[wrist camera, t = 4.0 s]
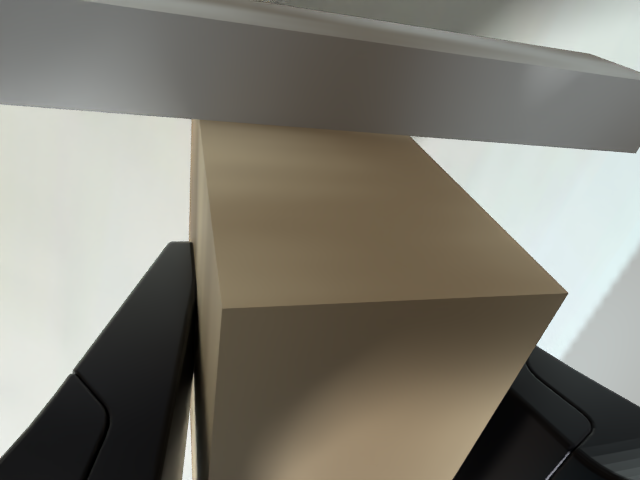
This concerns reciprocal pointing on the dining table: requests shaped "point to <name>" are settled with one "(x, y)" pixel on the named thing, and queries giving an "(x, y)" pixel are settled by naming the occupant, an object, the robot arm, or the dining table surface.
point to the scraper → (332, 215)
